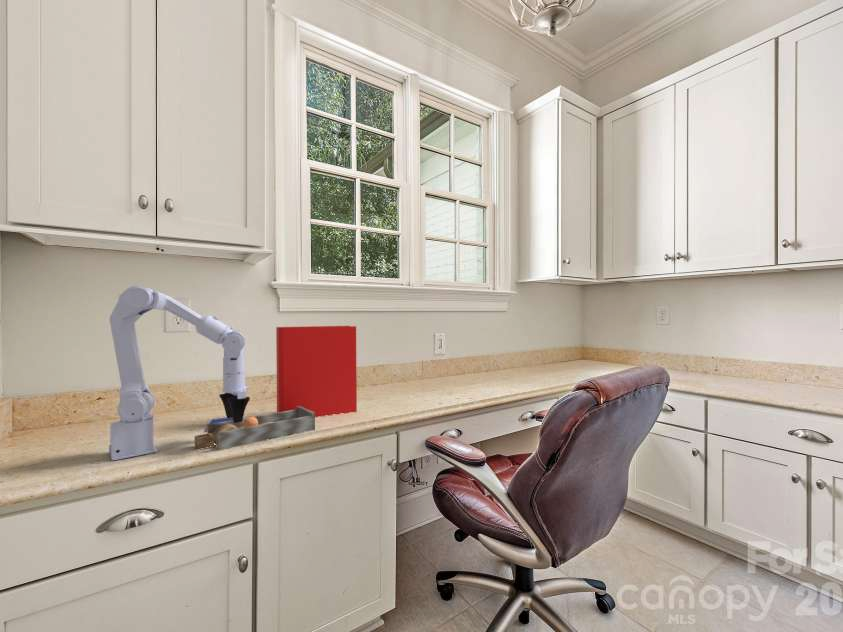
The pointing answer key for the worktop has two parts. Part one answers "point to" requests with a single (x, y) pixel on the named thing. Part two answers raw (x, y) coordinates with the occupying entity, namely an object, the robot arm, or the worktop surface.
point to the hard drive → (220, 420)
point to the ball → (250, 422)
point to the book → (316, 369)
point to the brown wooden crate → (204, 440)
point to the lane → (262, 428)
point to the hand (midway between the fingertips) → (234, 419)
